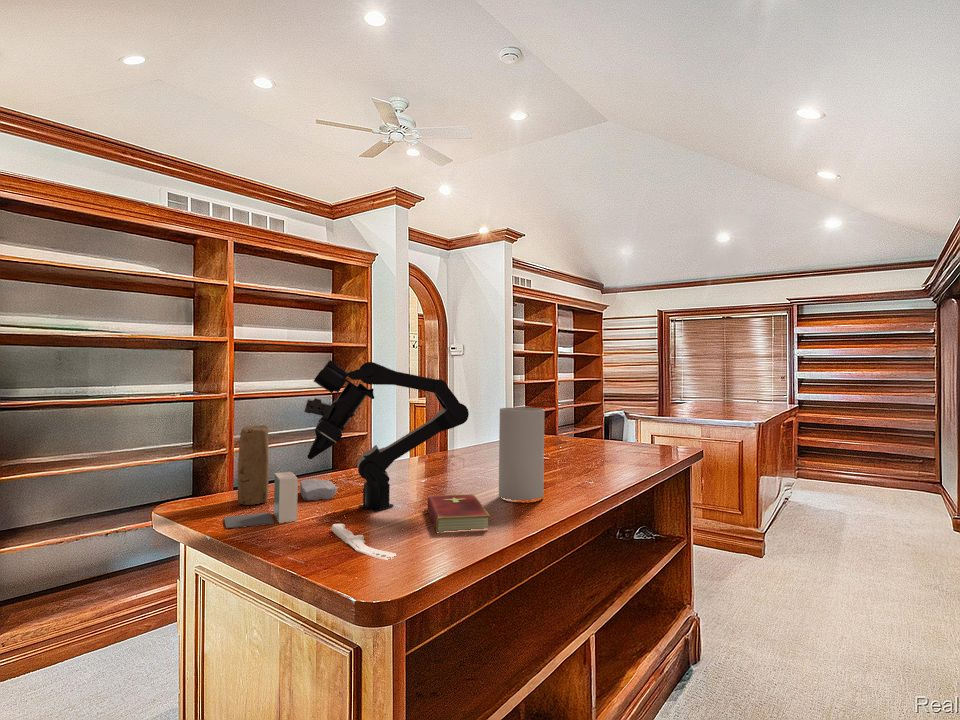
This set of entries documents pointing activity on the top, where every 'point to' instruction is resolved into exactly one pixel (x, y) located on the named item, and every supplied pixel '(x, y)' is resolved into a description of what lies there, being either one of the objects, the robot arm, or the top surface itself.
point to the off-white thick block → (285, 497)
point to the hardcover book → (457, 512)
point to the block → (253, 465)
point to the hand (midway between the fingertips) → (309, 455)
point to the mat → (248, 520)
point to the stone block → (317, 489)
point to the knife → (359, 542)
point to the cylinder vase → (521, 453)
